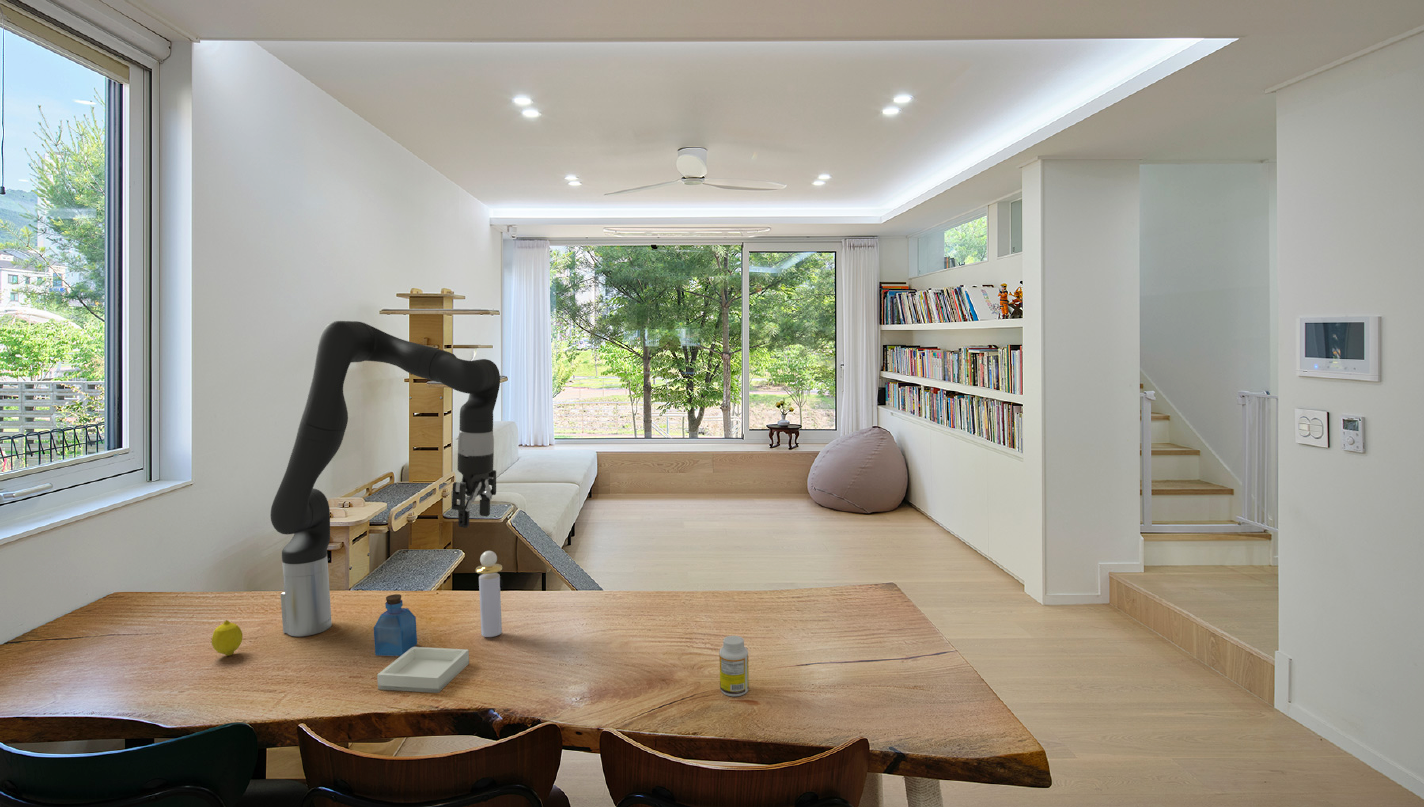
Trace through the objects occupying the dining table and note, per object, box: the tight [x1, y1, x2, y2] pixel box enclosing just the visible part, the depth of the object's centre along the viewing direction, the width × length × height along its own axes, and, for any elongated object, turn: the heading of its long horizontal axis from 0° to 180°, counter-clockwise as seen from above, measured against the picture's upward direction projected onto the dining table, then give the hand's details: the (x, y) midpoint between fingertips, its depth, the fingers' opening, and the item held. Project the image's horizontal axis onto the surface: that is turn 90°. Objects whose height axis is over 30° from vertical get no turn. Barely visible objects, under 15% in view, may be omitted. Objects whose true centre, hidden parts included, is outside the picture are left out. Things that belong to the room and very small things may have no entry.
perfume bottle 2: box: [475, 550, 504, 638], centre depth 163 cm, size 6×6×20 cm
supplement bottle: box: [718, 635, 750, 698], centre depth 137 cm, size 6×6×10 cm
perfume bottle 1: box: [373, 593, 418, 657], centre depth 157 cm, size 6×6×12 cm
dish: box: [376, 646, 470, 694], centre depth 145 cm, size 13×13×3 cm
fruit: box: [211, 619, 243, 656], centre depth 155 cm, size 6×6×8 cm
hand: (474, 521), depth 159 cm, fingers open, 8 cm apart
